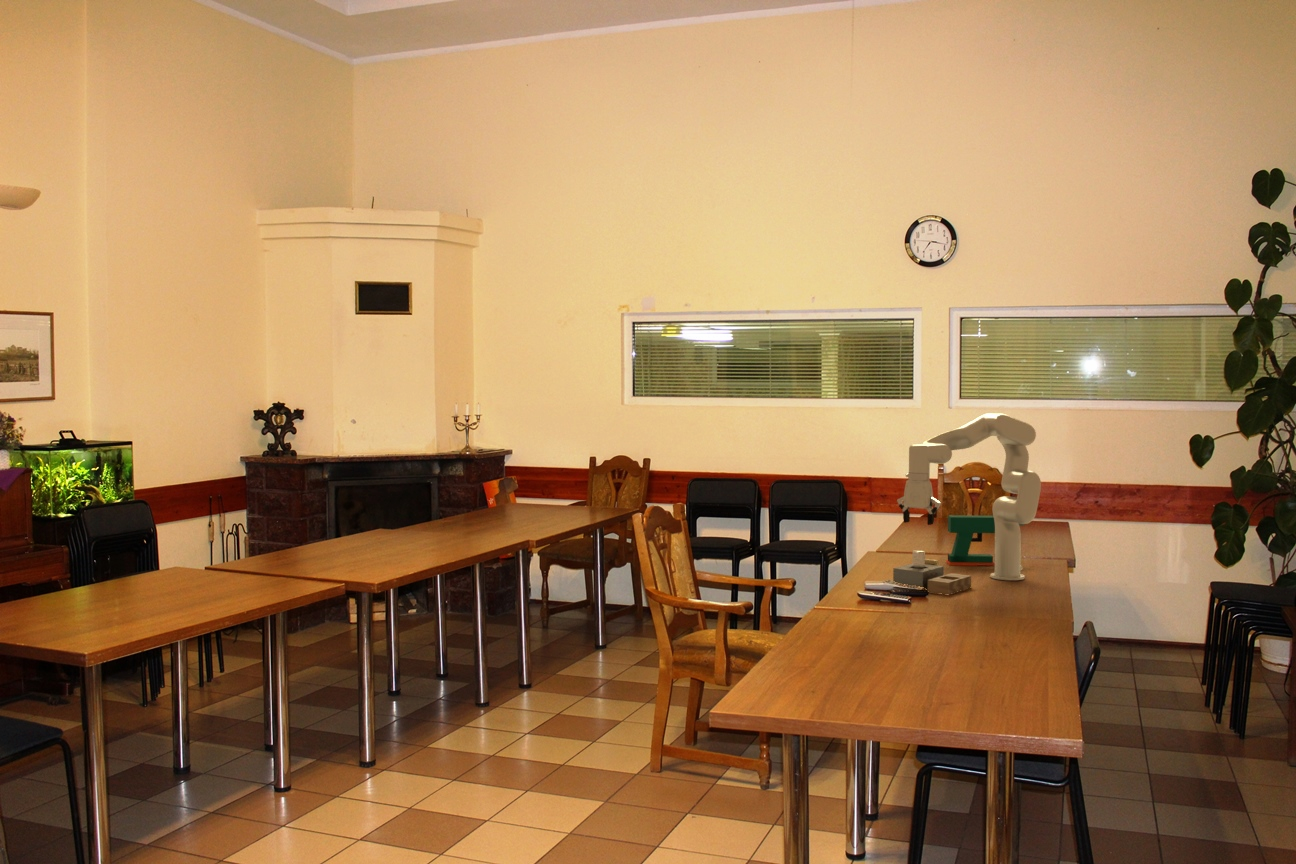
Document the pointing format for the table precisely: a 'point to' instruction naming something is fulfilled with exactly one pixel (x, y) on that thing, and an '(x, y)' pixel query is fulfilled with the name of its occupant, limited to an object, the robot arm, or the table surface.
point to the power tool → (969, 538)
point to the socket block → (917, 574)
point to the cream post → (919, 559)
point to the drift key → (931, 562)
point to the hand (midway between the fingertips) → (918, 523)
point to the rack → (949, 583)
